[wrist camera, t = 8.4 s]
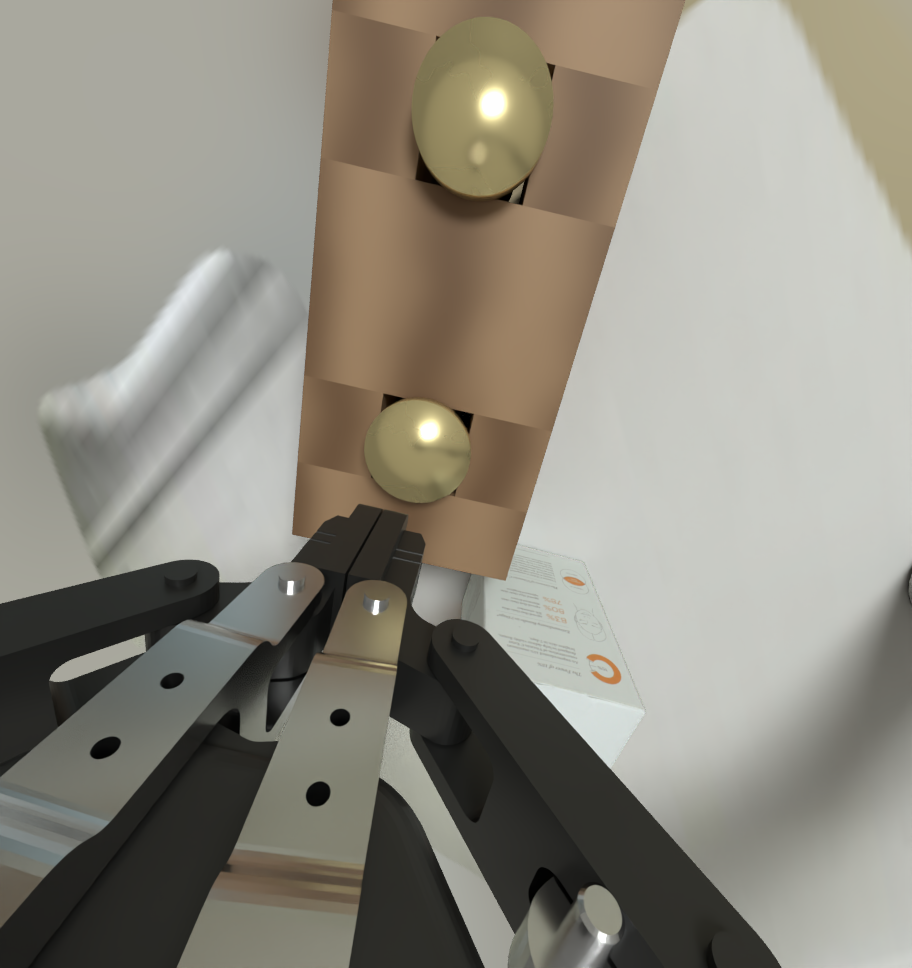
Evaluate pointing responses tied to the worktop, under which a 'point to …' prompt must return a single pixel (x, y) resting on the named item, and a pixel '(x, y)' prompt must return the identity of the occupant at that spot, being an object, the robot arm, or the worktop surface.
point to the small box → (561, 644)
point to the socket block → (462, 260)
